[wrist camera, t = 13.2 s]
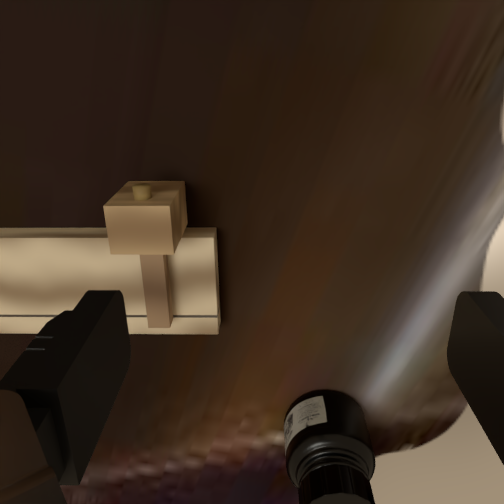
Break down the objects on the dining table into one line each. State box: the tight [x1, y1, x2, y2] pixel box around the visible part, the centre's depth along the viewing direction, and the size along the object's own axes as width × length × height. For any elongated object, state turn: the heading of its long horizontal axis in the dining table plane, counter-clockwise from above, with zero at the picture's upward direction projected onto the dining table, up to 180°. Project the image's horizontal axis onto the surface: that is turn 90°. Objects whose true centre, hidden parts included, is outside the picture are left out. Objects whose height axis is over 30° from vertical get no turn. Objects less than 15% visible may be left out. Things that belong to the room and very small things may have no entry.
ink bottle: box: [284, 391, 375, 504], centre depth 46 cm, size 10×9×12 cm
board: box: [0, 227, 221, 334], centre depth 44 cm, size 10×28×2 cm, turn 91°
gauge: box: [103, 181, 188, 328], centre depth 40 cm, size 14×5×7 cm, turn 1°
